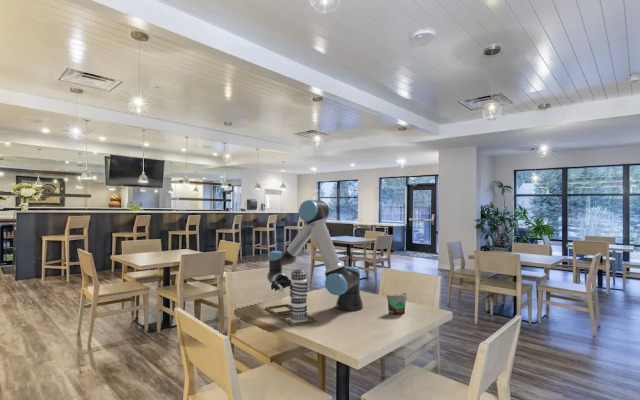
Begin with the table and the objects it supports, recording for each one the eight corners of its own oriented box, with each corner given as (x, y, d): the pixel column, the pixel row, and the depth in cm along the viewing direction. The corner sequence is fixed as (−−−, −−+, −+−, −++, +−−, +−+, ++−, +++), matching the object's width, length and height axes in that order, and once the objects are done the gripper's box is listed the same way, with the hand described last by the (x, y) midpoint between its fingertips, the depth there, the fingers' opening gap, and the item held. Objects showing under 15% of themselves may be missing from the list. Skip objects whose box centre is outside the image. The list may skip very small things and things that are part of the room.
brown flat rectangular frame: (265, 308, 198) (265, 307, 198) (288, 305, 205) (288, 303, 205) (291, 326, 169) (291, 324, 169) (317, 321, 176) (317, 319, 176)
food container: (393, 316, 185) (393, 297, 185) (386, 313, 190) (386, 295, 190) (412, 313, 190) (412, 295, 191) (404, 310, 196) (404, 292, 196)
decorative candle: (311, 319, 178) (311, 269, 179) (298, 323, 172) (298, 272, 172) (298, 315, 185) (299, 267, 185) (285, 319, 178) (286, 269, 178)
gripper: (301, 285, 207) (316, 293, 188) (259, 289, 196) (271, 298, 177) (301, 272, 207) (316, 279, 188) (259, 275, 196) (271, 283, 177)
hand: (294, 288), depth 182 cm, fingers open, 13 cm apart
